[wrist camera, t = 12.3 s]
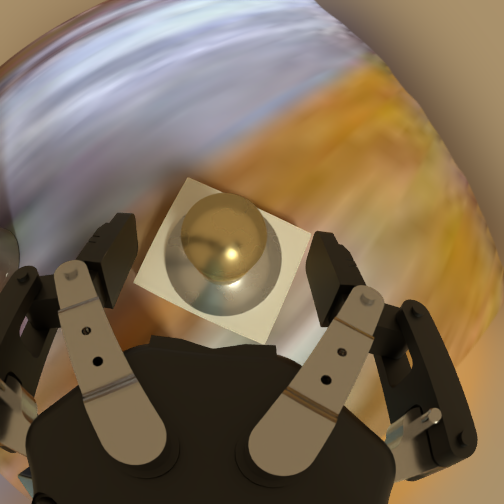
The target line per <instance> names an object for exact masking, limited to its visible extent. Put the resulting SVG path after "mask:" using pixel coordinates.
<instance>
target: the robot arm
mask: <svg viewBox="0 0 504 504" xmlns="http://www.w3.org/2000/svg"><path fill="white" fill-rule="evenodd" d="M137 251H138V240H137V231H136V221H135V215H134V214H133V213H117V214H116V215H115V216H114V218H113V219H112V220H111V222H110V223H105V224H104V225H102V226H101V227H99V228H98V229H97V230H96V232H95V233H94V234H93V237H91V239H90V240H89V243H87V244H86V245H85V247H84V248H83V250H82V251H81V253H80V254H79V256H78V257H77V258H76V260H71V261H67V262H65V263H63V264H62V265H60V266H59V267H58V268H57V269H56V271H55V273H54V274H53V275H45V276H39V274H38V272H37V269H36V268H35V267H33V266H24V267H21V268H19V269H18V266H19V249H18V244H17V241H16V239H15V237H14V235H13V234H12V233H11V232H10V231H9V230H6V229H4V228H1V227H0V447H1V448H2V449H4V450H6V451H8V452H10V453H16V452H17V453H19V454H21V455H24V456H26V457H27V459H28V463H29V467H30V471H31V476H32V483H33V500H32V504H388V500H389V496H390V493H391V490H392V487H393V484H394V483H395V482H398V481H402V480H407V481H416V480H419V479H421V478H424V477H426V476H429V475H431V474H434V473H436V472H438V471H441V470H443V469H445V468H448V467H450V466H452V465H454V464H456V463H458V462H460V461H462V460H464V459H466V458H468V457H470V456H471V455H472V454H473V453H474V451H475V449H476V447H477V433H476V429H475V426H474V422H473V419H472V416H471V412H470V409H469V406H468V403H467V400H466V397H465V395H464V392H463V389H462V386H461V384H460V381H459V378H458V376H457V373H456V371H455V368H454V366H453V363H452V361H451V358H450V356H449V354H448V351H447V349H446V347H445V345H444V342H443V340H442V338H441V336H440V334H439V332H438V330H437V327H436V325H435V323H434V321H433V319H432V317H431V315H430V313H429V311H428V310H427V309H426V307H425V306H424V305H422V304H421V303H419V302H418V301H415V300H406V301H404V302H403V304H402V306H401V307H400V308H399V307H395V306H392V305H388V304H385V303H384V299H383V297H382V296H381V294H380V293H379V292H378V291H376V290H375V289H373V288H371V287H368V286H366V284H365V282H364V280H363V278H362V276H361V274H360V271H359V269H358V267H356V266H357V265H356V263H355V261H353V258H352V256H351V254H350V252H349V251H348V250H347V249H346V248H345V247H344V246H343V245H340V244H338V242H337V240H336V238H335V236H334V234H333V233H330V232H321V231H316V232H315V234H314V236H313V240H312V243H311V246H310V250H309V253H308V256H307V260H306V274H307V278H308V281H309V285H310V288H311V292H312V296H313V299H314V303H315V307H316V310H317V314H318V318H319V322H320V326H321V327H328V329H327V330H326V332H325V333H324V335H323V336H322V338H321V340H320V341H319V343H318V344H317V346H316V347H315V349H314V350H313V352H312V353H311V355H310V356H309V357H308V359H307V360H306V362H305V363H304V365H303V366H301V365H300V364H298V363H296V362H295V361H293V360H291V359H289V358H286V357H283V356H280V355H277V353H276V345H251V344H243V345H237V346H230V347H223V348H216V349H212V348H208V347H205V346H201V345H198V344H195V343H192V342H189V341H186V340H183V339H178V338H170V337H162V336H154V335H151V339H150V343H149V344H145V345H139V346H136V347H132V348H130V349H128V350H125V351H124V352H122V350H121V348H120V346H119V344H118V341H117V339H116V337H115V335H114V333H113V331H112V328H111V326H110V324H109V321H108V319H107V317H106V314H105V312H104V310H103V308H104V307H105V308H111V309H113V308H114V306H115V303H116V301H117V298H118V296H119V294H120V291H121V289H122V287H123V284H124V282H125V280H126V278H127V275H128V273H129V271H130V269H131V267H132V264H133V262H134V260H135V258H136V256H137ZM25 316H26V317H27V319H28V322H27V324H26V326H25V328H24V330H23V333H22V335H21V337H20V334H19V330H20V326H21V324H22V322H23V320H24V318H25ZM58 328H62V332H63V336H64V340H65V343H66V347H67V350H68V354H69V357H70V360H71V363H72V367H73V370H74V373H75V375H76V378H77V381H78V384H79V385H78V386H76V387H75V388H74V389H72V390H71V391H70V392H69V393H67V394H66V395H65V396H63V397H62V398H61V399H59V400H58V401H57V402H55V403H54V404H53V405H51V406H50V407H49V408H47V409H46V410H45V411H44V412H42V413H41V414H40V415H38V414H37V404H36V401H35V399H34V396H35V392H36V389H37V386H38V382H39V379H40V376H41V373H42V370H43V367H44V364H45V361H46V358H47V355H48V353H49V350H50V347H51V345H52V342H53V339H54V337H55V334H56V332H57V329H58ZM408 349H409V352H410V355H411V357H412V361H413V366H412V369H411V367H410V364H409V361H408V358H407V355H406V352H407V350H408ZM368 353H371V354H373V355H374V358H375V362H376V365H377V369H378V373H379V377H380V381H381V384H382V388H383V392H384V397H385V401H386V405H387V409H388V414H389V418H390V423H391V425H390V426H389V428H388V430H387V433H386V440H385V442H384V441H383V440H382V439H381V438H379V437H378V436H377V435H376V434H375V433H374V432H373V431H372V430H370V429H369V428H368V427H367V426H366V425H365V424H364V423H363V422H361V421H360V420H359V419H358V418H357V417H356V416H355V415H354V414H353V413H352V412H351V411H349V410H348V409H347V408H346V407H345V406H344V403H345V402H346V400H347V398H348V396H349V394H350V392H351V390H352V388H353V386H354V384H355V381H356V379H357V377H358V375H359V373H360V371H361V369H362V366H363V364H364V362H365V360H366V357H367V355H368Z"/></svg>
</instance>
